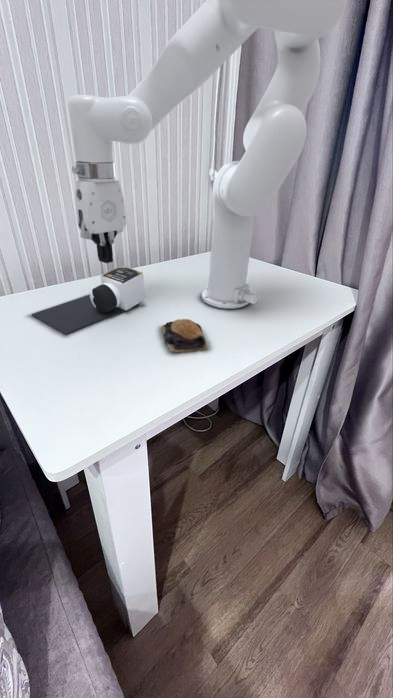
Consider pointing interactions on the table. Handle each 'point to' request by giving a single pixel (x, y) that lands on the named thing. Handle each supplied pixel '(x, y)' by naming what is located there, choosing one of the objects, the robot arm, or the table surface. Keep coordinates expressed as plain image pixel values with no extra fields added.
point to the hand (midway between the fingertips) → (105, 261)
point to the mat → (74, 315)
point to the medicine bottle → (119, 290)
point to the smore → (183, 336)
